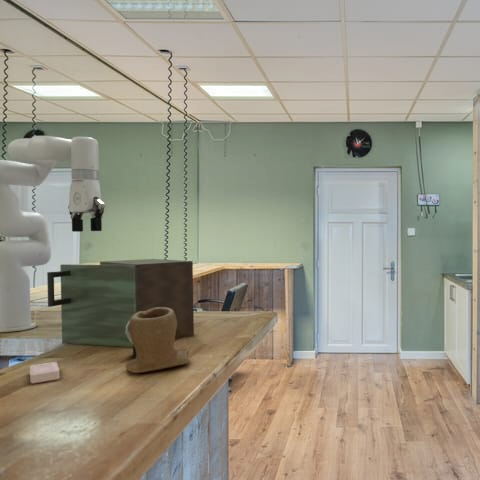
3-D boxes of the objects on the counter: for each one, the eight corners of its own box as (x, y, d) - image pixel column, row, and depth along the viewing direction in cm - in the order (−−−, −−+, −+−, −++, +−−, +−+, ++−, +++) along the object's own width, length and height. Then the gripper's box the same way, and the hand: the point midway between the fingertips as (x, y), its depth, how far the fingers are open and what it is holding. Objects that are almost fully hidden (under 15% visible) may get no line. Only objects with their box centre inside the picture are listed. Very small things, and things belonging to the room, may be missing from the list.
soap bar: (30, 384, 102) (30, 373, 102) (29, 375, 109) (29, 364, 109) (59, 380, 105) (59, 369, 105) (56, 370, 112) (56, 360, 112)
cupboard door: (116, 353, 128) (114, 266, 128) (41, 348, 135) (39, 266, 134) (136, 346, 135) (135, 264, 135) (64, 342, 142) (63, 264, 142)
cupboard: (138, 346, 136) (136, 264, 135) (101, 335, 152) (99, 261, 152) (193, 335, 149) (192, 261, 149) (154, 326, 166) (153, 258, 166)
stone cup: (129, 381, 104) (128, 315, 103) (123, 368, 114) (122, 308, 113) (198, 369, 112) (197, 308, 112) (187, 358, 122) (186, 302, 122)
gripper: (57, 177, 146) (58, 231, 146) (90, 173, 138) (92, 230, 138) (80, 180, 152) (82, 231, 153) (114, 176, 144) (115, 230, 145)
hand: (86, 231), depth 145 cm, fingers open, 9 cm apart
